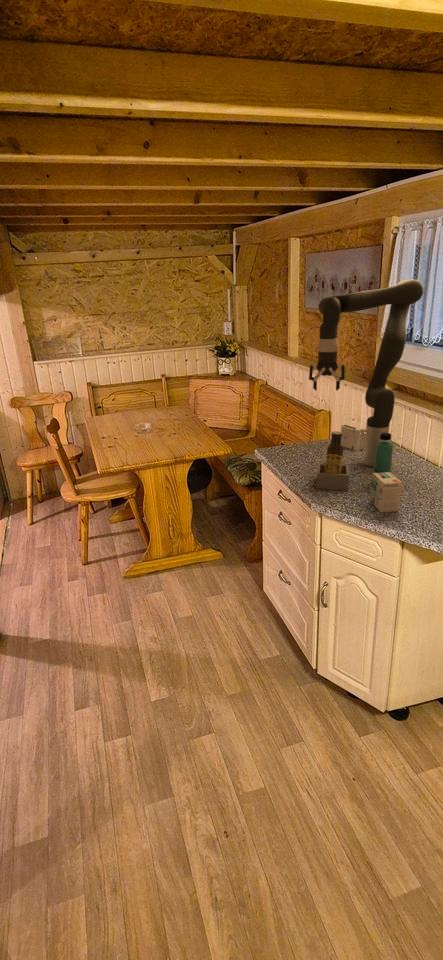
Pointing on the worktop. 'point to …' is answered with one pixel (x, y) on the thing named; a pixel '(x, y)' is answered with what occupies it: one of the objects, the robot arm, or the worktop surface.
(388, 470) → the beverage bottle
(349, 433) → the hinge
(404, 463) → the worktop surface
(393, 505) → the light bulb box
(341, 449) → the sauce bottle
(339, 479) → the bottle holder
